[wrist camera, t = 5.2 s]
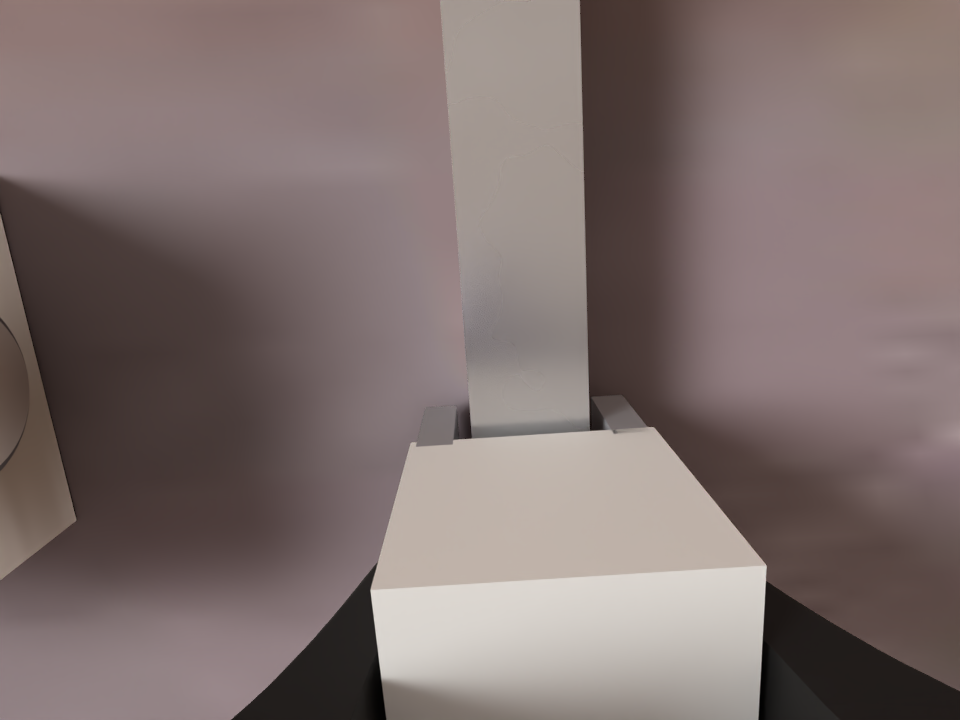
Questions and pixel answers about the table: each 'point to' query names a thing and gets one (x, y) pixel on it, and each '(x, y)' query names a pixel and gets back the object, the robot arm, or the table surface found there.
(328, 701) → the robot arm
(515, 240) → the rail
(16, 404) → the cream cage with ball
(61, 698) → the table surface
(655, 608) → the block
